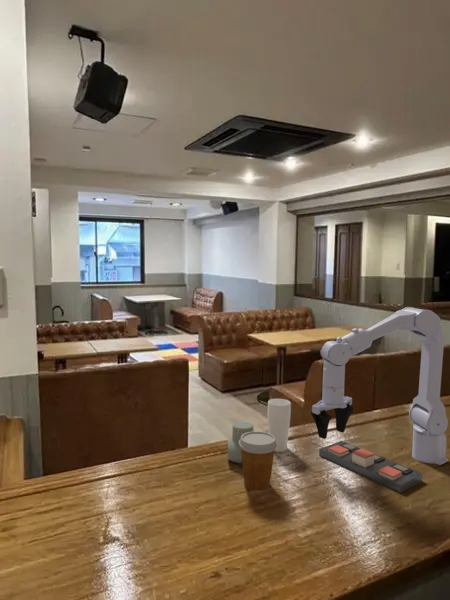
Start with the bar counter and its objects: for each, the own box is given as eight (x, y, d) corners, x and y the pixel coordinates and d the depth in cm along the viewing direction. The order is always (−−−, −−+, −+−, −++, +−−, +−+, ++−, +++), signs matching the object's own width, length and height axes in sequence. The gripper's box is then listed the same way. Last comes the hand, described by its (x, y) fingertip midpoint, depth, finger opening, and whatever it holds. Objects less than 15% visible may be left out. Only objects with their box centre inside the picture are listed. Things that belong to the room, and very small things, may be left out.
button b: (361, 458, 118) (361, 448, 118) (373, 463, 115) (374, 453, 115) (351, 462, 116) (352, 451, 116) (364, 467, 113) (365, 457, 113)
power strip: (322, 442, 136) (323, 431, 135) (421, 484, 110) (422, 471, 110) (300, 450, 130) (301, 439, 129) (399, 497, 104) (400, 483, 104)
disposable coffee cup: (255, 471, 116) (256, 427, 115) (283, 484, 109) (285, 438, 108) (229, 483, 109) (230, 437, 108) (258, 498, 103) (259, 449, 102)
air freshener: (258, 468, 118) (258, 432, 117) (227, 468, 118) (228, 432, 117) (255, 451, 129) (256, 418, 128) (227, 450, 129) (228, 417, 128)
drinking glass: (288, 457, 125) (290, 406, 124) (265, 455, 126) (266, 404, 125) (290, 447, 131) (291, 399, 130) (267, 445, 133) (268, 397, 132)
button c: (387, 476, 112) (387, 465, 112) (401, 482, 109) (402, 471, 109) (378, 480, 110) (378, 470, 110) (392, 487, 107) (393, 476, 106)
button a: (336, 454, 125) (337, 444, 125) (348, 459, 122) (348, 449, 122) (327, 457, 123) (328, 448, 122) (339, 463, 119) (339, 453, 119)
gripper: (327, 393, 111) (325, 445, 112) (362, 385, 119) (360, 433, 120) (306, 387, 116) (305, 436, 117) (341, 379, 125) (339, 425, 126)
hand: (331, 434), depth 119 cm, fingers open, 7 cm apart
